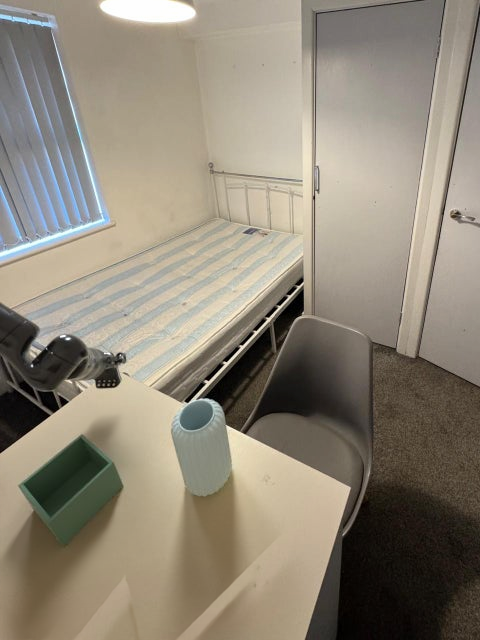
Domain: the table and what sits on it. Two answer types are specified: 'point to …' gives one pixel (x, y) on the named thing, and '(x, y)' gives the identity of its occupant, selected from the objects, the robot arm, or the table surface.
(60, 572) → the table surface
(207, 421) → the vase
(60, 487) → the bin
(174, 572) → the table surface
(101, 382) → the battery charger
